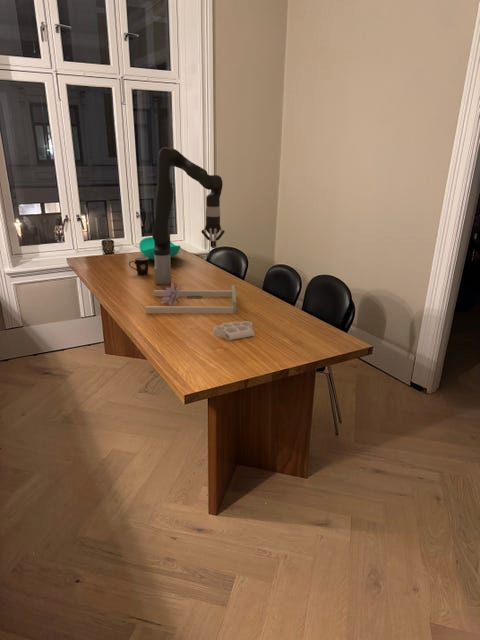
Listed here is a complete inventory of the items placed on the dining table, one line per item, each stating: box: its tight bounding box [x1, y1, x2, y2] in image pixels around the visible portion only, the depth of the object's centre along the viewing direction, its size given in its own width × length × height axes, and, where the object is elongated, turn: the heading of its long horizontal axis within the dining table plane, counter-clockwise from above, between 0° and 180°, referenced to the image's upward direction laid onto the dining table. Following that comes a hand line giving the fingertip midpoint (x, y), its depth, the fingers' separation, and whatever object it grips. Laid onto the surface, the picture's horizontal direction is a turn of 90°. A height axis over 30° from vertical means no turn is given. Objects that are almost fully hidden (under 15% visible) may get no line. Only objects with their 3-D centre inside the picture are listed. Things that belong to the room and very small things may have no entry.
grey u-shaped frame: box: [145, 284, 237, 314], centre depth 222 cm, size 44×28×6 cm, turn 93°
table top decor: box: [139, 236, 182, 261], centre depth 311 cm, size 40×28×13 cm
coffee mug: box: [128, 256, 150, 276], centre depth 275 cm, size 12×9×10 cm
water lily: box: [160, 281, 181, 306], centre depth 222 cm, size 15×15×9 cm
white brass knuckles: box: [213, 320, 255, 342], centre depth 187 cm, size 3×18×15 cm
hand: (213, 247), depth 234 cm, fingers closed
